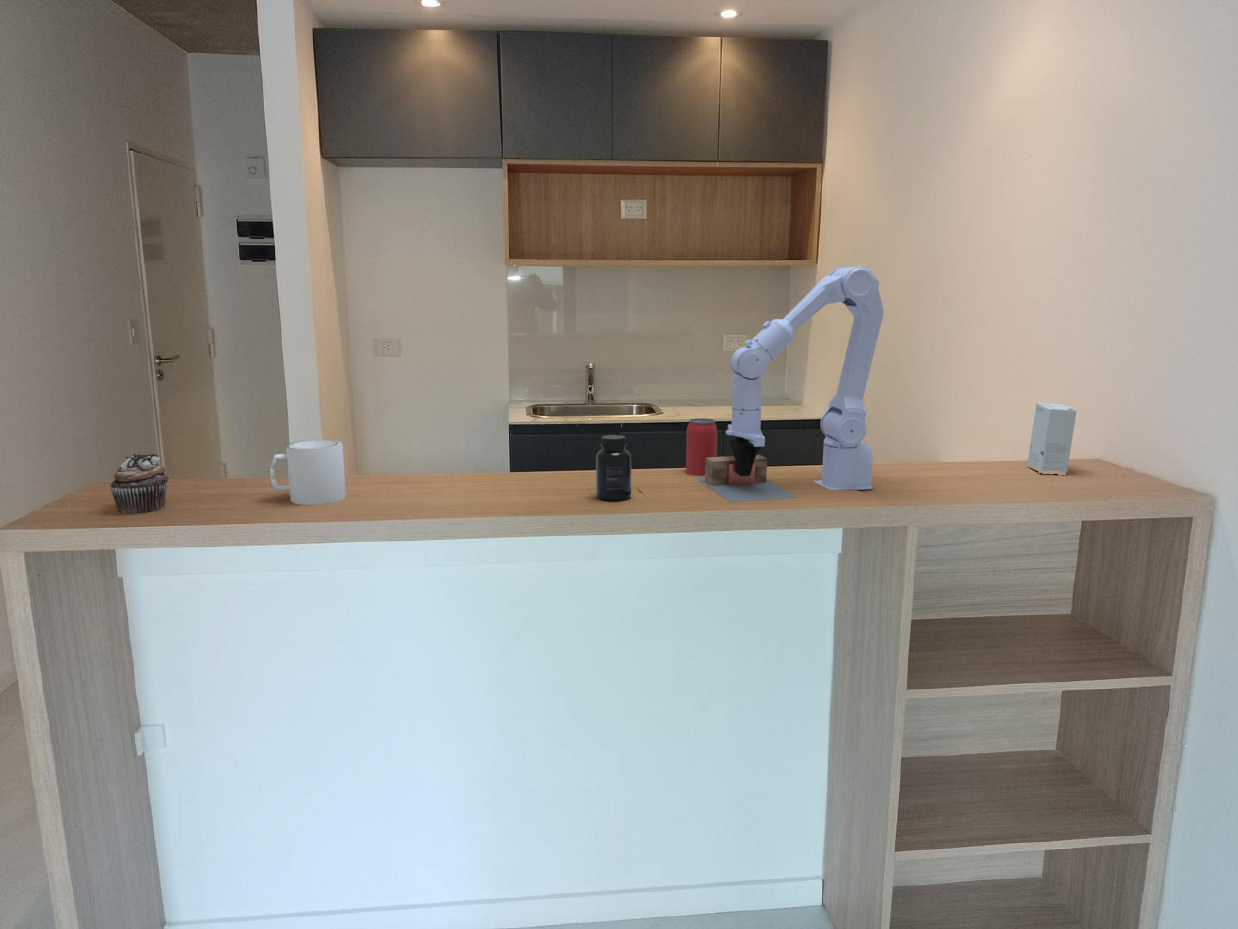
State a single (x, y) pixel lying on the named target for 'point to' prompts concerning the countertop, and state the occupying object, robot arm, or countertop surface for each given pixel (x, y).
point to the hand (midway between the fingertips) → (744, 475)
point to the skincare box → (1051, 437)
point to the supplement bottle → (613, 469)
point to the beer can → (700, 444)
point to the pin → (738, 480)
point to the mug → (313, 472)
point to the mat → (750, 491)
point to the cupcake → (140, 485)
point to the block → (718, 469)
